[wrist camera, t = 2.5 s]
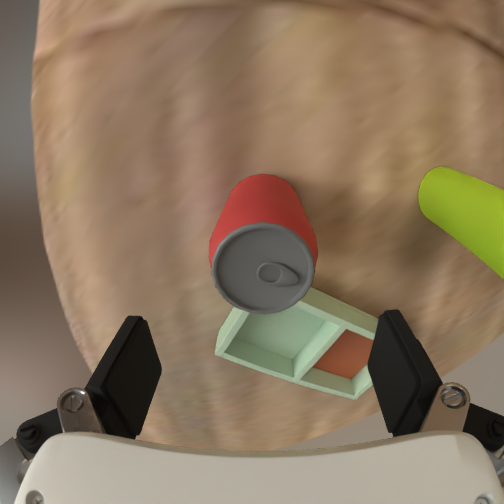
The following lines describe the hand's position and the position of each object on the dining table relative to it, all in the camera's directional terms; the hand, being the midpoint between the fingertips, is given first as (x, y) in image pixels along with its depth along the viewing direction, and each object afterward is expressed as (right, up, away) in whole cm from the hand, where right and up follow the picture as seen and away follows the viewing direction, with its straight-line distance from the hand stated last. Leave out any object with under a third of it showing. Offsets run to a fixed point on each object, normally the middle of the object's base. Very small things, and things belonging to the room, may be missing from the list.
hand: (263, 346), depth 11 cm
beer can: (+1, +8, +16) cm, 17 cm away
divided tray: (+7, -6, +21) cm, 23 cm away
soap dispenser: (+19, +10, +14) cm, 25 cm away
